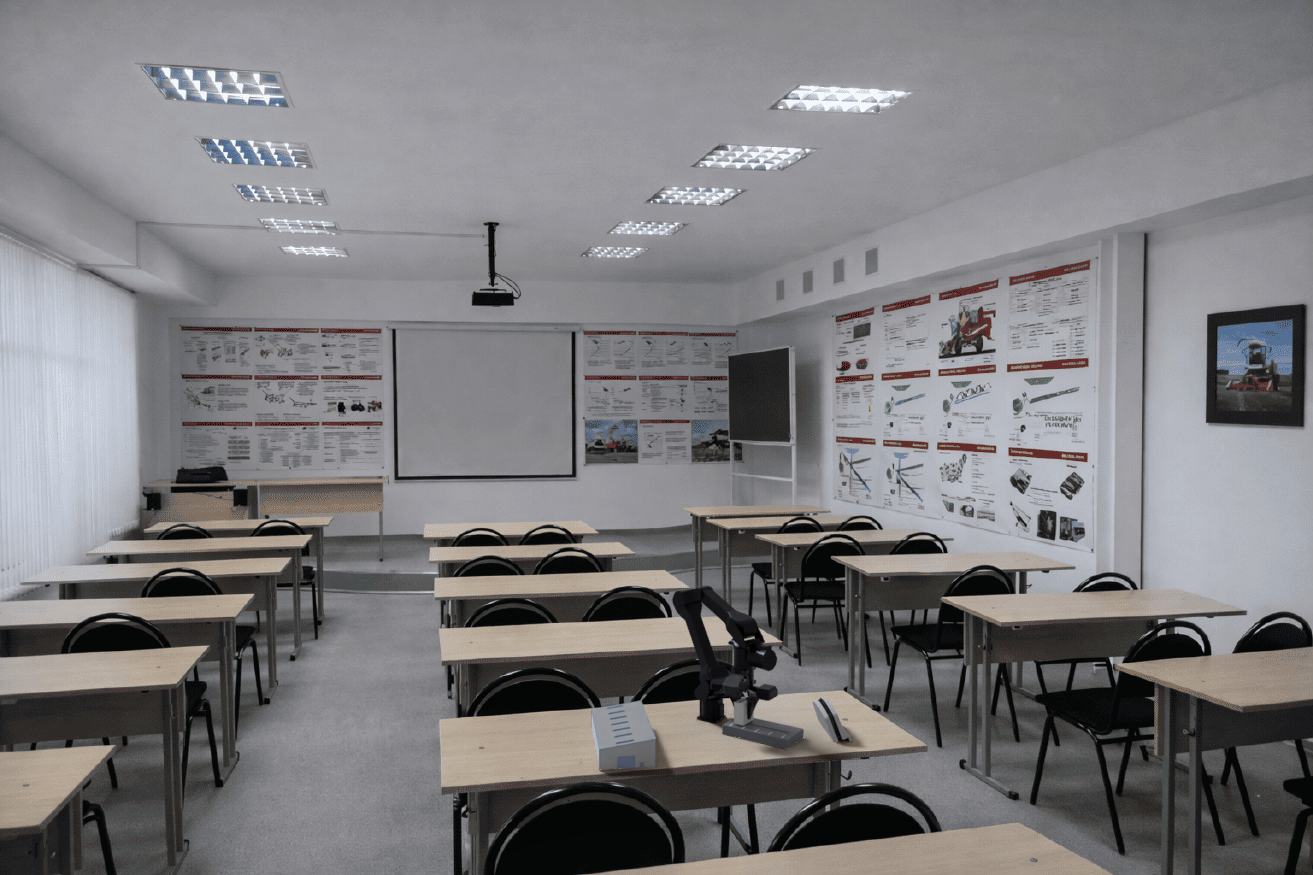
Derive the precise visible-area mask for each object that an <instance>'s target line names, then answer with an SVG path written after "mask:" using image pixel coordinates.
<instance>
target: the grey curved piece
mask: <svg viewBox="0 0 1313 875" xmlns="http://www.w3.org/2000/svg"><path fill="white" fill-rule="evenodd" d="M811 703H812V705H813V708H814V711H815V715H816V717H817V720H818V722H819V724H820V725H821V727H822V728H823V729H824V731H825V732H826V733H827V736H828V737H829V738H830V739H831V740H832V742H833V743H835V742H836V743H838V742H839V740H843V741H844V740H846V739H847V740H848V741H849V743H851V742H853V741H852V738H851V736H850V734H849V732H847V731H846V729H845V728H844V727H843V726H842V723H841V720H840V718H839V715H838V713H837V711H836V709H835V707H834V706H833V705H832V703H831V702H830V700H829V699H828V698H827V697H826V696H823V697H822V696H821V697H819V698H817V699H814V700H813V701H812V702H811Z"/></svg>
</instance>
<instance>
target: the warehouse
mask: <svg viewBox="0 0 1313 875" xmlns="http://www.w3.org/2000/svg"><path fill="white" fill-rule="evenodd" d="M647 714H648V713H647V712H646V710H645V707H644V705H643V701H642V700H637V701H630V702H625V703H620V704H616V705H609V706H605V707H603V706H602V707H597V708H593V709H590V719H591V720H590V724H591V726H590V728H591V727H592V728H591V733H592V732H593V733H592V737H594V738H593V743H595V744H594V747H595V748H596V749H595V753H596V754H595V755H596V759H597V764H598V769H599V770H600V769H615V770H620V769H619V768H623V769H624V768H627V769H638V768H637V767H643V768H644V767H648V768H657V737H656V735H655V732H654V730H653V728H652V724H651V722H650V719H649V717H648V715H647ZM623 769H622V770H623ZM644 769H645V768H644ZM600 771H601V770H600Z"/></svg>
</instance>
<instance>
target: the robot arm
mask: <svg viewBox="0 0 1313 875" xmlns="http://www.w3.org/2000/svg"><path fill="white" fill-rule="evenodd" d="M671 602H672V605H673V607H674V609H675V612H676V614H677V615H679V616H680V618H682V619H683V620H684V622H685V624H686V627H687V630H688V632H689V636H690V638H691V642H692V645H693V648H694V650H695V654H696V656H697V659H698V662H699V665H700V670H699V677H698V679H699V683H700V684H699V685H698V686H697V687H696V688H695V689H694V698H695V699H697V700H699V715H698V716H696V719H697V720H700V721H705V722H709V723H713V724H714V723H715V724H716V723H718V722H720V721H722V720H723V719H725V718H726V717H727V716H726V714H725V703H724V698H725V697H728V698H729V699H730V702H731V704H732V707H733V708H734V702H735V701H737V700H739V699H741V698H742V697H743V696H742V694H743V693H745V694H746V693H749V695H748V696H745V697H746V700H747V702H748V705H747V718H748V720H749V719H751V716H752V714H753V712H754V711H755V709H756V706H757V704H758V703H759V701H760V700H762V701H765V702H767V701H769V702H770V701H771V700H773V699H775V698H776V697H778V696H779V695H778V694H779V693H778V692H779V691H778V690H779V689H778V688H777V686H776V685H773V684H766V683H764V684H762V685H760V686H756V684H757V680H756V679H755V670H756V669H760V670H763V671H766V672H771V671H773V670H774V669H775V668H776V665H777V662H778V656H777V654H776V652H775V651H774V650H773V646H772V645H771V644H765V643H766V640H765V639H764V636H763V634H762V632H761V630H760V628H759V625H758V622H757V621H756V619H755V618H754V617H752V616H750V615H749V614H747V613H745V612H742V611H739V610H736V609H735V608H734V607H733V606H732V605H730V604H729V603H728V602H727V601H726V600H725V599H724V598H722V597H721V596H720V595H719V594H718V593H717V591H715V590H714V588H713V587H712V586H711V585H710V586H709V585H701V586H697V587H695V588H688V589H680V590H676V591H675V592H674V593H673V596H672V599H671ZM703 605H704V606H705V607H706V608H707V609H708V610H710V612H712V613H713V614H714V615H715V616H716V617H717V618H719V620H720V621H722V622H723V623H724V626H725V630H726V631H727V633H728V634H729V636H731V639H730V640H729V641H728V642H727V644H728V645H730V646H732V647H733V665H732V667H731V668H730V674H729V670H728V668H727V666H726V664H720V663H719V662H718V661H717V657H716V656H715V652H714V649H713V646H712V644H711V642H710V641H711V640H710V637H709V635H708V632H707V630H706V627H705V623H704V621H703V618H702V611H703V610H702V609H703Z"/></svg>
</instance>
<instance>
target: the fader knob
mask: <svg viewBox="0 0 1313 875" xmlns="http://www.w3.org/2000/svg"><path fill="white" fill-rule="evenodd" d="M746 697H747V696H742V698H741V699H739V700H737V701H735V702H734V707H733V718H734V724H738V725H742V726H744V725H745V724H747V723H749V722H750V721H752V720H754V718H755V717H754V712H753V714H752V716H751V719H749V720H748V718H747V705H748V702H747V700H746Z"/></svg>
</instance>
